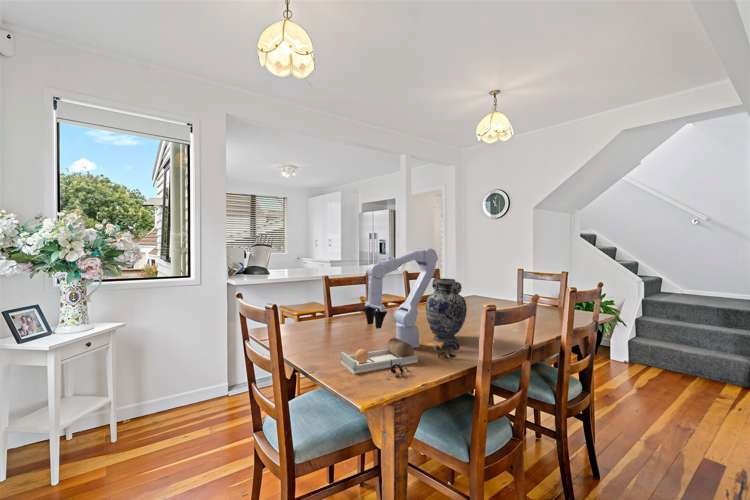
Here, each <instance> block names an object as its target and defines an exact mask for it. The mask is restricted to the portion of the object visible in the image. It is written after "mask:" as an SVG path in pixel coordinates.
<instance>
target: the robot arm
mask: <svg viewBox="0 0 750 500" xmlns="http://www.w3.org/2000/svg"><path fill="white" fill-rule="evenodd" d="M438 259H439V257H438V254H437V251H436V250H435V249H434V248H420V247H419V248H417V249H412V250H411V251H409V252H407V253H404V254H402V255H400V256H398V257H394V256H386V259H383V260H378V261H377V262H376V263H371V264H370V265H368V267H367V269H366V271H365V273H366V275H367V277H368V286H367V287H368V291H367V300H365V301H364V302H365V303H364V306H365V307H364V306H363V307H362V309H363V311H364V314H365V316H366V317H365V318H366V322H367V325H373V324H375V329H382V326H383V323H384V320H385V318H386V315H387V314H388V311H387V310H386V306H385V305H384V304H383V278H384V277H385V275H388V274H389V273H392V272H394V271H396V270H398V269H399V267H400V266H402V265H403V264H406V263H409V262H412V261H415V262H416V264H417V266H418V267H419V268H420V272H419V274H418V277H417V278H416V281H415V283H414V284H413V286H412V288H411V289H410V292H409V293H408V296H407V298H406V300H405V301H404V302H403V303H401V304H400V305H399V307H398V308H397V309H396V310H394V312H393V316H392V319H393V320H394V322H395V330H396V331H395V332H396V333H395V334H396V336H395V338H397V339H399V340H401V341H404V342H406V343H408V344H410V345H411V346H412V347H413V349H414V348H415V349H416V348H420V347H421V345H420V331H419V328H418V326H417V325H416V323H417V316H418V314H419V312H418V311H419V310H418V308H417V307H418V306H419V304H420V302H421V300H422V298H423V297H424V296H423V295H425V292H426V290H427V288H428V286H429V284H430V282H431V280H433V277H434V274H435V271H436V266H437V265H436V263H437V262H438ZM374 322H375V323H374Z"/></svg>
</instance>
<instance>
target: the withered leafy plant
mask: <svg viewBox="0 0 750 500" xmlns="http://www.w3.org/2000/svg"><path fill="white" fill-rule="evenodd" d="M460 348H461V345H460V343H459V342H457V341H456V342H455V341H450V342H442V345H441V346H439V345H438V344H435V345H433V350H434V351H437V352H435V354H437V360H438V359H440V358H441V356H442V355H443V356H445V357H446V358H448V360H451V356H450V355H452V356H455V357H456V356H457V355H455V354H453V353H452V352H453V351H458V350H460Z"/></svg>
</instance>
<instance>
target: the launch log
mask: <svg viewBox="0 0 750 500" xmlns="http://www.w3.org/2000/svg"><path fill="white" fill-rule="evenodd" d="M386 347H387V348H386V349H388V351H389V352H391V353H392V354H394V355H396V356H398V357H399V358H401V357H406V356H412V355H414V351H415V350H414V348H413V347H412V346H411V345H410V344H408V343H406V342H404V341H401V340H399V339H397V338H396V337H392V338H391V339H389V340H388V342H387V346H386Z"/></svg>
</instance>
